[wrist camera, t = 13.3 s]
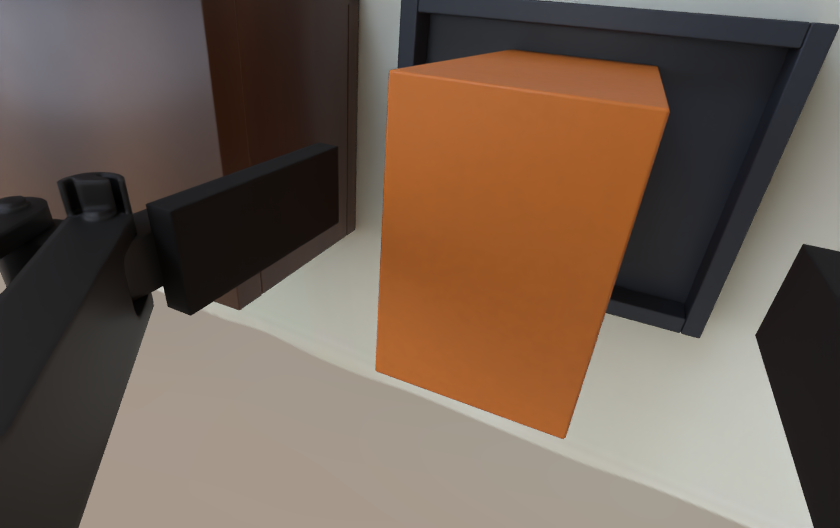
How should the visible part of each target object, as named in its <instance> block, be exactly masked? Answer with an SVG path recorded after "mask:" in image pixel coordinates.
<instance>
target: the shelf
mask: <svg viewBox="0 0 840 528" xmlns="http://www.w3.org/2000/svg"><path fill="white" fill-rule="evenodd" d="M358 9H359V0H0V199H1V198H4V197H9V196H19V195H21V196H23V197H38V198H42V199H44V200H47V203H48V206H49V209H50V212H51V215H52V218H53V219H63V220H64V219H65V218H66V217H67V214H66V211H65V208H64V205H63V201H62V198H61V195H60V192H59V189H58V185H57V181H59V180H61V179H62V178H65V177H68V176H71V175H75V174H81V173H88V172H112V173H117V174H120V175H122V176H123V177H124V178H125V182H126V187H127V191H128V195H129V200H130V204H131V208H132V212H133V213H136V212H139V211H142V210H144V209H146V204H147V203H150V202H153V201H155V200H158V199H161V198H164V197H167V196H169V195H172V194H175V193H178V192H181V191H184V190H186V189H189V188H192V187H195V186H198V185H200V184H203V183H206V182H209V181H212V180H214V179H217V178H220V177H223V176H226V175H228V174H231V173H234V172H237V171H240V170H242V169H245V168H248V167H251V166H254V165H257V164H259V163H262V162H265V161H268V160H271V159H273V158H276V157H279V156H282V155H285V154H287V153H290V152H293V151H296V150H299V149H301V148H304V147H307V146H310V145H313V144H316V143H318V142H320V143H325V144H329V145H334V146H338V168H339V223H337V224H336V225H334V226H333V227H331V228H329V229H328V230H326V231H325V232H323V233H321V234H320V235H318V236H317V237H315V238H314V239H312V240H310V241H309V242H307V243H306V244H304V245H302V246H301V247H299V248H298V249H296V250H294V251H293V252H291V253H290V254H288V255H286V256H285V257H283V258H282V259H280V260H279V261H277V262H275V263H274V264H272V265H271V266H269V267H267V268H266V269H264V270H263V271H261V272H259V273H258V274H256V275H255V276H253V277H251V278H250V279H248V280H247V281H245V282H244V283H242V284H240V285H239V286H237V287H236V288H234V289H232V290H231V291H229V292H228V293H226V294H224V295H223V296H221V297H220V298H218V299H216V300H215V301H214V302H217V303H220V304H223V305H226V306H229V307H231V308H234V309H237V310H241V309H242V308H244V307H245V306H246V305H248V304H249V303H251V302H252V301H254V300H255V299H256V298H258V297H259V296H261V295H262V294H263V293H265V292H266V291H267V290H269V289H270V288H272V287H273V286H275V285H276V284H277V283H279V282H280V281H282V280H283V279H285V278H286V277H288V276H289V275H290V274H292V273H293V272H295V271H296V270H298V269H299V268H300V267H302V266H303V265H305V264H306V263H308V262H309V261H311V260H312V259H313V258H315V257H316V256H318V255H319V254H321V253H322V252H323V251H325V250H326V249H328V248H329V247H331V246H332V245H334V244H335V243H336V242H338V241H339V240H341V239H342V238H344V237H345V236H346V235H348V234H350V233H351V232H352V231H354V230H355V194H356V133H357V71H358Z"/></svg>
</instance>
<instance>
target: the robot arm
mask: <svg viewBox="0 0 840 528" xmlns="http://www.w3.org/2000/svg"><path fill="white" fill-rule="evenodd" d="M57 185H58V189H59V192H60V195H61V198H62V201H63V205H64V208H65V211H66V214H67V217H66V218H65V219H64V220H63V219H53V218H52V215H51V212H50V209H49V206H48V203H47V200H44V199H42V198H38V197H23V196H21V195H19V196H9V197H4V198H1V199H0V272H1V275H2V277H3V279H4V282H5V284H6V287H7V288H6V289H5V290H4V291H3V292H2V293H1V294H0V528H78V527H79V524H80V521H81V519H82V516H83V513H84V510H85V507H86V504H87V501H88V498H89V495H90V492H91V489H92V486H93V483H94V480H95V477H96V474H97V471H98V469H99V466H100V463H101V460H102V457H103V454H104V451H105V448H106V445H107V442H108V439H109V436H110V433H111V430H112V427H113V424H114V421H115V418H116V415H117V413H118V410H119V407H120V404H121V401H122V398H123V395H124V392H125V389H126V386H127V383H128V380H129V377H130V374H131V371H132V368H133V365H134V363H135V360H136V357H137V353H138V351H139V348H140V345H141V342H142V339H143V336H144V333H145V330H146V327H147V324H148V321H149V318H150V315H151V312H152V310H153V307H154V305H153V298H152V294H151V292H153V291H155V290H157V289H158V288H160V287H162V286H163V287H164V292H165V296H166V301H167V305H168V307H170V308H173V309H175V310H178V311H180V312H183V313H185V314H188V315H192V314H194V313H196V312H197V311H199V310H201V309H202V308H204V307H205V306H207V305H209V304H210V303H212V302H213V301H215V300H216V299H218V298H220V297H221V296H223V295H224V294H226V293H228V292H229V291H231V290H232V289H234V288H236V287H237V286H239V285H240V284H242V283H244V282H245V281H247V280H248V279H250V278H251V277H253V276H255V275H256V274H258V273H259V272H261V271H263V270H264V269H266V268H267V267H269V266H271V265H272V264H274V263H275V262H277V261H279V260H280V259H282V258H283V257H285V256H286V255H288V254H290V253H291V252H293V251H294V250H296V249H298V248H299V247H301V246H302V245H304V244H306V243H307V242H309V241H310V240H312V239H314V238H315V237H317V236H318V235H320V234H321V233H323V232H325V231H326V230H328V229H329V228H331V227H333V226H334V225H336V224H337V223H339V168H338V146H334V145H329V144H325V143H320V142H318V143H316V144H313V145H310V146H307V147H304V148H301V149H299V150H296V151H293V152H290V153H287V154H285V155H282V156H279V157H276V158H273V159H271V160H268V161H265V162H262V163H259V164H257V165H254V166H251V167H248V168H245V169H242V170H240V171H237V172H234V173H231V174H228V175H226V176H223V177H220V178H217V179H214V180H212V181H209V182H206V183H203V184H200V185H198V186H195V187H192V188H189V189H186V190H184V191H181V192H178V193H175V194H172V195H169V196H167V197H164V198H161V199H158V200H155V201H153V202H150V203H147V204H146V209H144V210H142V211H139V212H136V213H133V212H132V208H131V204H130V200H129V195H128V191H127V187H126V182H125V178H124V177H123V176H122V175H120V174H117V173H112V172H88V173H81V174H75V175H71V176H68V177H65V178H62V179H61V180H59V181H57ZM755 336H756V339H757V342H758V346H759V349H760V352H761V356H762V359H763V362H764V365H765V369H766V372H767V375H768V378H769V382H770V385H771V388H772V392H773V395H774V398H775V401H776V405H777V408H778V411H779V415H780V418H781V421H782V424H783V428H784V431H785V434H786V437H787V441H788V444H789V447H790V451H791V454H792V457H793V460H794V464H795V467H796V470H797V474H798V477H799V480H800V483H801V487H802V490H803V493H804V496H805V500H806V503H807V506H808V510H809V513H810V516H811V519H812V523H813V526H814V528H840V252H839V251H835V250H830V249H825V248H820V247H815V246H811V245H806V244H803V245H802V247H801V249H800V251H799V253H798V255H797V256H796V258H795V260H794V262H793V264H792V266H791V268H790V270H789V272H788V274H787V276H786V278H785V279H784V281H783V283H782V285H781V287H780V289H779V291H778V293H777V295H776V297H775V299H774V301H773V302H772V304H771V306H770V308H769V310H768V312H767V314H766V316H765V318H764V320H763V322H762V324H761V325H760V327H759V329H758V331H757V333H756V335H755Z"/></svg>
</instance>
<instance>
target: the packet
mask: <svg viewBox="0 0 840 528" xmlns="http://www.w3.org/2000/svg"><path fill="white" fill-rule="evenodd" d="M669 113H670V110H669V106H668V102H667V99H666V95H665V92H664V88H663V84H662V81H661V77H660V73H659V70H658V66H654V65H645V64H637V63H628V62H619V61H610V60H602V59H593V58H584V57H576V56H567V55H558V54H549V53H541V52H532V51H523V50H514V49H511V50H505V51H499V52H493V53H487V54H481V55H476V56H470V57H464V58H458V59H452V60H446V61H440V62H434V63H428V64H422V65H416V66H410V67H405V68H399V69H393V70H390V72H389V84H388V106H387V128H386V150H385V172H384V194H383V216H382V237H381V259H380V281H379V303H378V325H377V347H376V369H375V370H376V371H377V372H380V373H383V374H385V375H388V376H391V377H394V378H396V379H399V380H402V381H405V382H407V383H410V384H413V385H416V386H418V387H421V388H424V389H427V390H429V391H432V392H435V393H438V394H440V395H443V396H446V397H449V398H451V399H454V400H457V401H460V402H462V403H465V404H468V405H471V406H473V407H476V408H479V409H482V410H484V411H487V412H490V413H493V414H495V415H498V416H501V417H504V418H506V419H509V420H512V421H515V422H517V423H520V424H523V425H526V426H528V427H531V428H534V429H537V430H539V431H542V432H545V433H548V434H550V435H553V436H556V437H559V438H561V439H564V438H565V437H566V434H567V431H568V428H569V425H570V422H571V419H572V416H573V413H574V409H575V406H576V403H577V400H578V397H579V394H580V391H581V388H582V385H583V381H584V378H585V375H586V372H587V369H588V366H589V363H590V360H591V356H592V353H593V350H594V347H595V344H596V341H597V338H598V335H599V332H600V328H601V325H602V322H603V319H604V316H605V313H606V310H607V307H608V303H609V300H610V297H611V294H612V291H613V288H614V285H615V282H616V279H617V275H618V272H619V269H620V266H621V263H622V260H623V257H624V254H625V250H626V247H627V244H628V241H629V238H630V235H631V232H632V229H633V226H634V222H635V219H636V216H637V213H638V210H639V207H640V204H641V201H642V197H643V194H644V191H645V188H646V185H647V182H648V179H649V176H650V173H651V169H652V166H653V163H654V160H655V157H656V154H657V151H658V148H659V144H660V141H661V138H662V135H663V132H664V129H665V126H666V123H667V120H668V116H669Z"/></svg>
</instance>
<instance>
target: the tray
mask: <svg viewBox="0 0 840 528" xmlns="http://www.w3.org/2000/svg"><path fill="white" fill-rule="evenodd" d="M838 29H839V25H837V24H825V23H809V22H800V21H788V20H776V19H763V18H751V17H738V16H726V15H713V14H701V13H689V12H676V11H664V10H651V9H639V8H626V7H614V6H601V5H589V4H577V3H564V2H552V1H539V0H401V16H400V35H399V53H398V69H399V68H405V67H410V66H416V65H422V64H428V63H434V62H440V61H446V60H452V59H458V58H464V57H470V56H476V55H481V54H487V53H493V52H499V51H505V50H511V49H514V50H523V51H532V52H541V53H549V54H558V55H567V56H576V57H584V58H593V59H602V60H610V61H619V62H628V63H637V64H645V65H654V66H658V70H659V73H660V77H661V81H662V84H663V88H664V92H665V95H666V99H667V102H668V106H669V110H670V113H669V116H668V120H667V123H666V126H665V129H664V132H663V135H662V138H661V141H660V144H659V148H658V151H657V154H656V157H655V160H654V163H653V166H652V169H651V173H650V176H649V179H648V182H647V185H646V188H645V191H644V194H643V197H642V201H641V204H640V207H639V210H638V213H637V216H636V219H635V222H634V226H633V229H632V232H631V235H630V238H629V241H628V244H627V247H626V250H625V254H624V257H623V260H622V263H621V266H620V269H619V272H618V275H617V279H616V282H615V285H614V288H613V291H612V294H611V297H610V300H609V303H608V307H607V310H606V313H608V314H612V315H616V316H619V317H623V318H626V319H630V320H634V321H637V322H641V323H645V324H648V325H652V326H656V327H659V328H663V329H667V330H670V331H674V332H678V333H680V332H681V333H682V334H685V335H688V336H692V337H696V338H700V337H701V334H702V332H703V330H704V328H705V325H706V323H707V321H708V319H709V317H710V314H711V312H712V310H713V308H714V305H715V303H716V301H717V299H718V296H719V294H720V292H721V290H722V288H723V285H724V283H725V281H726V279H727V276H728V274H729V272H730V270H731V267H732V265H733V263H734V261H735V259H736V256H737V254H738V252H739V250H740V247H741V245H742V243H743V241H744V238H745V236H746V234H747V232H748V230H749V227H750V225H751V223H752V221H753V218H754V216H755V214H756V212H757V210H758V207H759V205H760V203H761V201H762V198H763V196H764V194H765V192H766V189H767V187H768V185H769V183H770V181H771V178H772V176H773V174H774V172H775V169H776V167H777V165H778V163H779V160H780V158H781V156H782V154H783V152H784V149H785V147H786V145H787V143H788V140H789V138H790V136H791V134H792V131H793V129H794V127H795V125H796V123H797V120H798V118H799V116H800V114H801V111H802V109H803V107H804V105H805V102H806V100H807V98H808V96H809V94H810V91H811V89H812V87H813V85H814V82H815V80H816V78H817V76H818V74H819V71H820V69H821V67H822V65H823V62H824V60H825V58H826V56H827V53H828V51H829V49H830V47H831V45H832V42H833V40H834V38H835V36H836V33H837V31H838Z"/></svg>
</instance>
